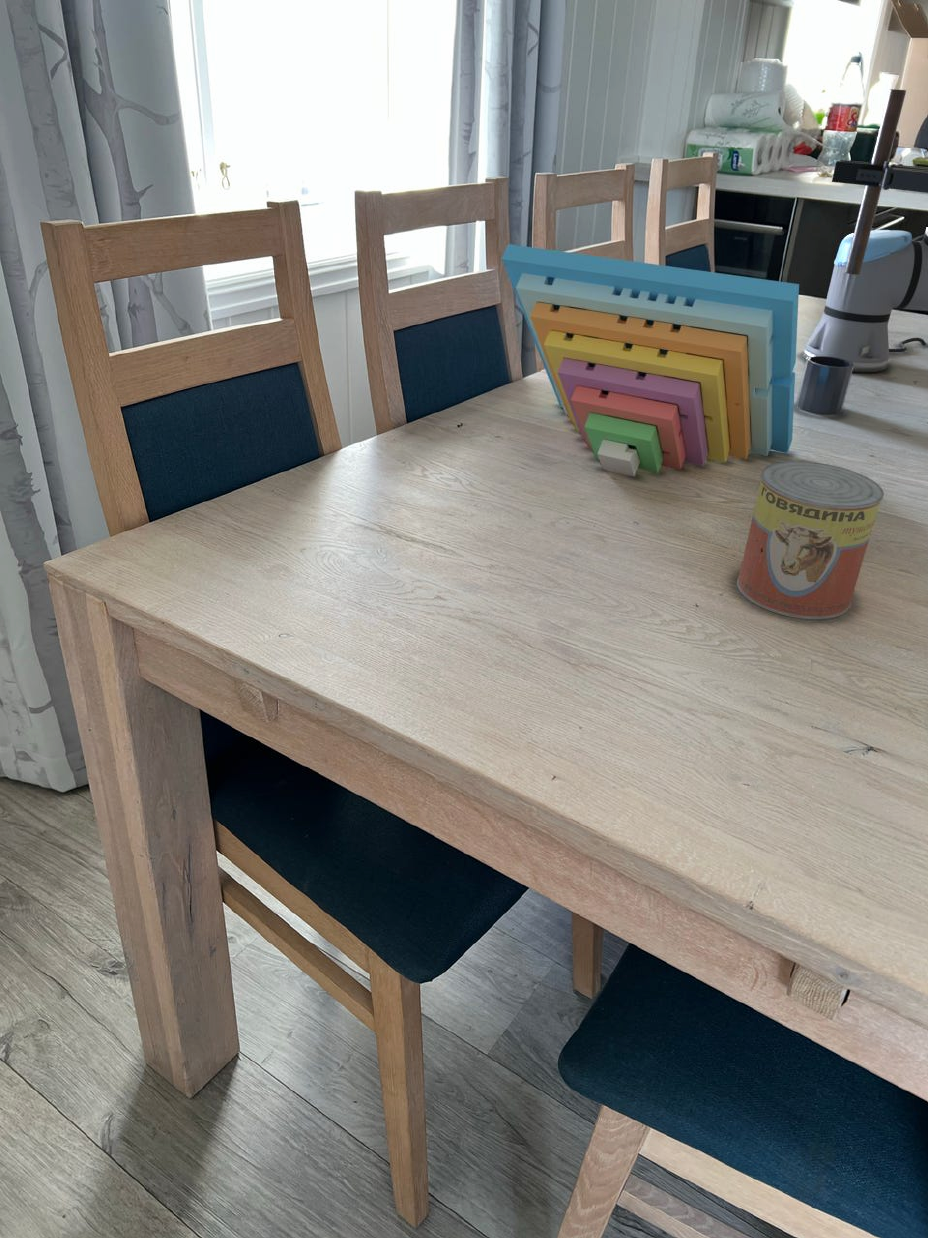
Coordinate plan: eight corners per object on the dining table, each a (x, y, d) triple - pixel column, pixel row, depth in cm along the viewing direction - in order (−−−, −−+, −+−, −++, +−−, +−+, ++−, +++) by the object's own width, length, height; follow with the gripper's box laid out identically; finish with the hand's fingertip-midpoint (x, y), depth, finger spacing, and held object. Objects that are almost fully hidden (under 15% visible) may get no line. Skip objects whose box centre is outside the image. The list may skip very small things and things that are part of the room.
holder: (801, 401, 155) (812, 353, 151) (844, 410, 152) (857, 360, 148) (790, 412, 150) (802, 361, 146) (835, 421, 147) (848, 370, 143)
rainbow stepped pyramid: (524, 493, 143) (455, 366, 112) (564, 393, 147) (508, 243, 115) (754, 550, 130) (748, 424, 98) (792, 439, 133) (799, 284, 102)
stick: (846, 271, 142) (890, 88, 130) (861, 273, 141) (907, 89, 129) (843, 273, 140) (888, 88, 128) (858, 275, 139) (905, 89, 127)
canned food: (727, 602, 94) (753, 490, 88) (746, 558, 103) (770, 453, 97) (846, 630, 90) (880, 515, 84) (854, 582, 99) (886, 475, 93)
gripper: (1001, 223, 123) (818, 203, 132) (1010, 212, 134) (840, 194, 144) (1022, 159, 119) (831, 143, 128) (1029, 154, 130) (853, 140, 140)
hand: (837, 170), depth 136 cm, fingers closed on stick, 2 cm apart
